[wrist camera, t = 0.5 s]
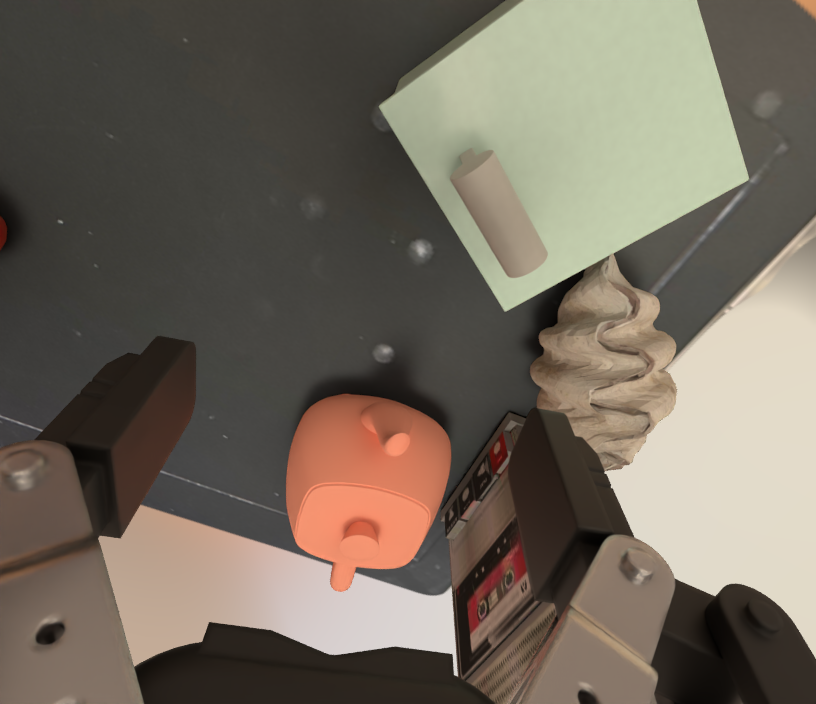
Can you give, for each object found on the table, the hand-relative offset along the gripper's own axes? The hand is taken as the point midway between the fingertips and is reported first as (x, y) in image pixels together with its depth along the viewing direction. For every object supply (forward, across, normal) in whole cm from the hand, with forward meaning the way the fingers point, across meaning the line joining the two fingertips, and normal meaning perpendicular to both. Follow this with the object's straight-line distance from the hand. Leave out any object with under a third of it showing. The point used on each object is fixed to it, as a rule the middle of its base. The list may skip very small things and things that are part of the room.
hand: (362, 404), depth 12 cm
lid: (+16, -7, -5) cm, 18 cm away
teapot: (+26, -3, +23) cm, 35 cm away
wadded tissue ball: (+26, -17, +9) cm, 33 cm away
